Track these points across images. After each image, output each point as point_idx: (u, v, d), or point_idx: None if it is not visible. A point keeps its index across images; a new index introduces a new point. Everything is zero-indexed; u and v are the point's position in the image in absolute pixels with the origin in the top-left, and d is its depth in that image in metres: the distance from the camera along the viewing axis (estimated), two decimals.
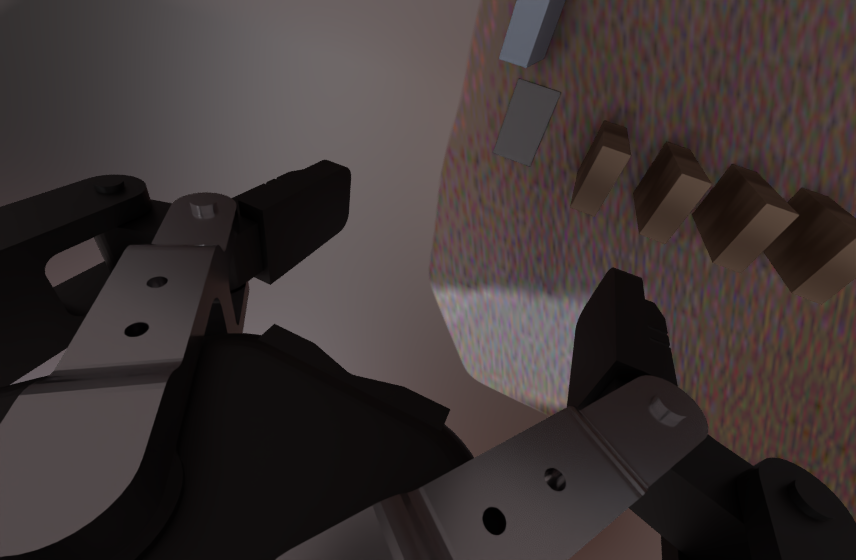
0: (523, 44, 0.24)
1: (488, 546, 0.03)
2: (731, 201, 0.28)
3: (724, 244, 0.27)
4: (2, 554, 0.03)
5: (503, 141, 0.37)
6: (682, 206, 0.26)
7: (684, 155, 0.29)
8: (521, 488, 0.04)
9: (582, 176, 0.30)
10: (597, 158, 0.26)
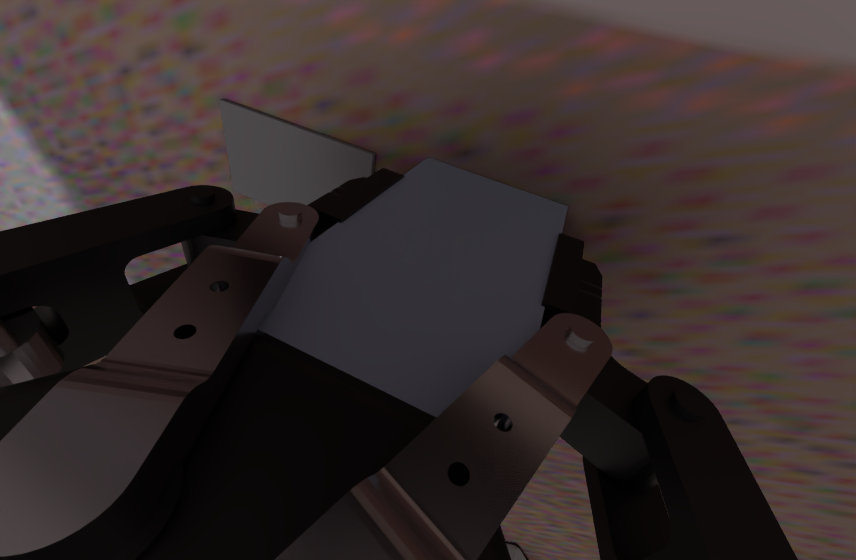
0: None
1: (458, 497, 0.04)
2: None
3: None
4: None
5: (249, 126, 0.15)
6: None
7: None
8: (476, 438, 0.04)
9: None
10: None
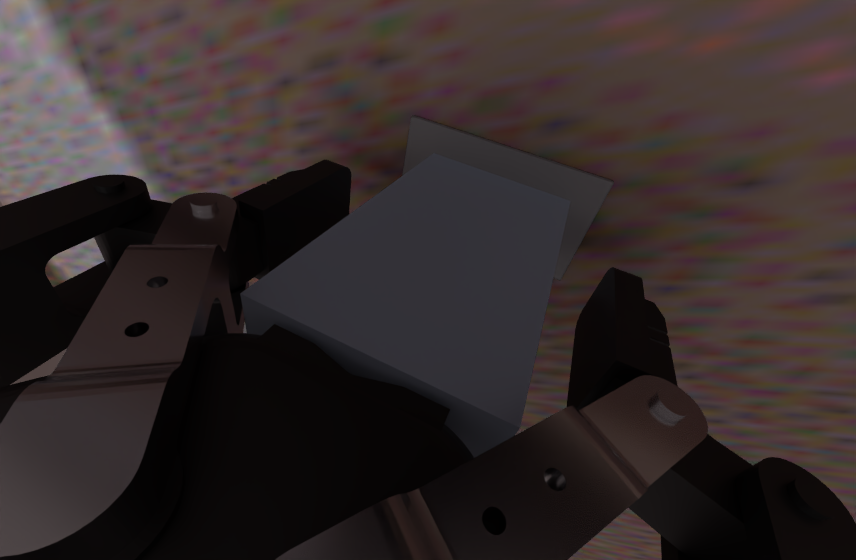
0: None
1: (488, 546, 0.03)
2: None
3: None
4: (2, 553, 0.03)
5: (444, 146, 0.13)
6: None
7: None
8: (521, 488, 0.04)
9: None
10: None
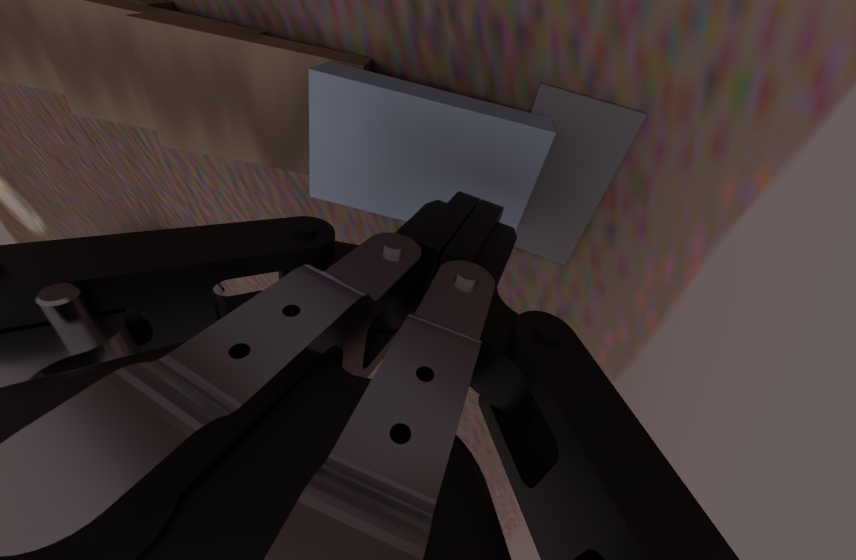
0: None
1: (406, 453, 0.04)
2: None
3: None
4: None
5: (610, 147, 0.14)
6: None
7: None
8: (406, 396, 0.05)
9: (210, 80, 0.15)
10: (156, 125, 0.16)
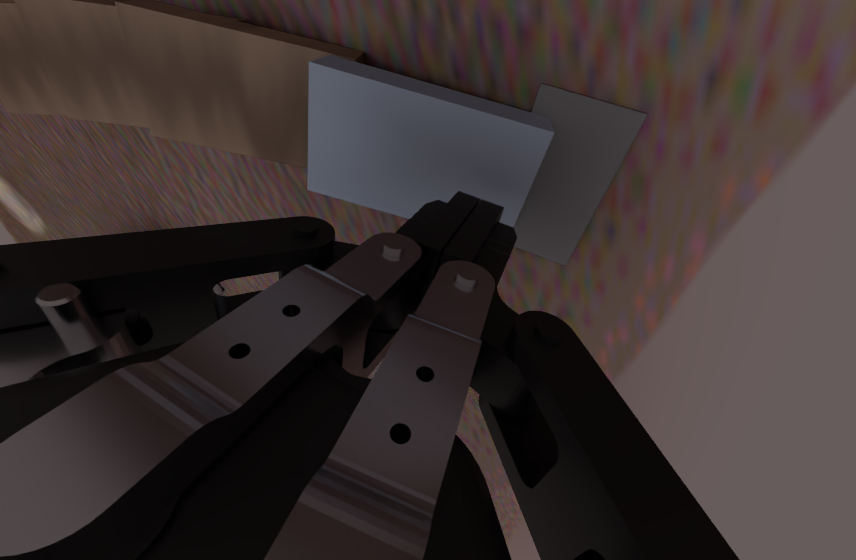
0: None
1: (406, 453, 0.04)
2: None
3: None
4: None
5: (610, 147, 0.14)
6: None
7: None
8: (406, 396, 0.05)
9: (201, 69, 0.15)
10: (147, 114, 0.16)
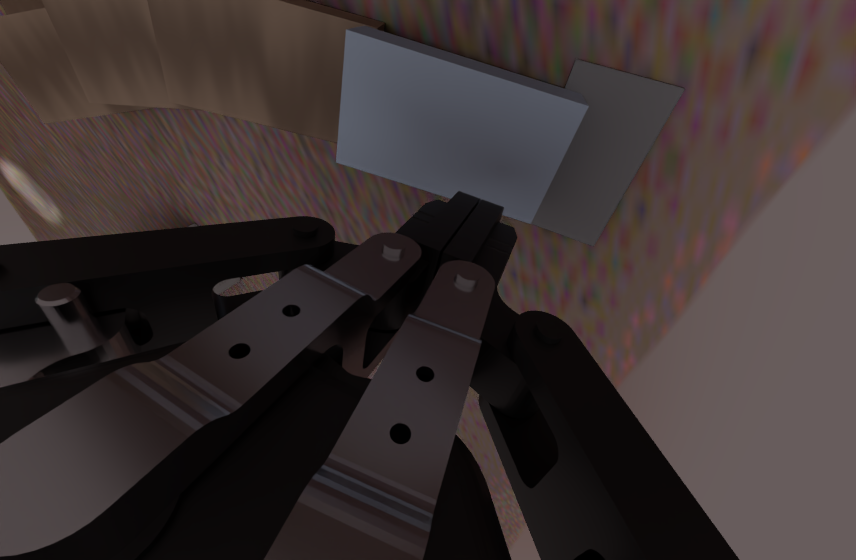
0: None
1: (406, 453, 0.04)
2: None
3: (2, 51, 0.20)
4: None
5: (645, 123, 0.14)
6: None
7: None
8: (406, 396, 0.05)
9: (223, 34, 0.15)
10: (166, 79, 0.16)
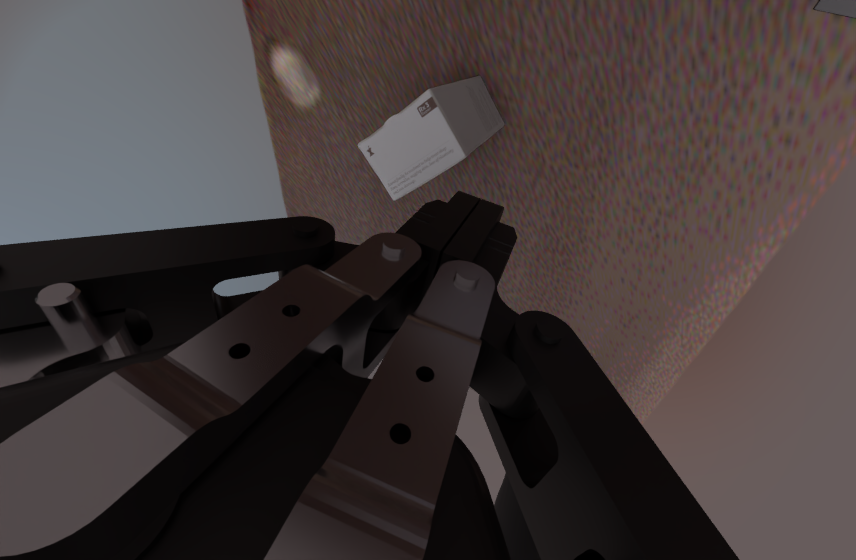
0: None
1: (406, 453, 0.04)
2: None
3: None
4: None
5: None
6: None
7: None
8: (406, 396, 0.05)
9: None
10: None
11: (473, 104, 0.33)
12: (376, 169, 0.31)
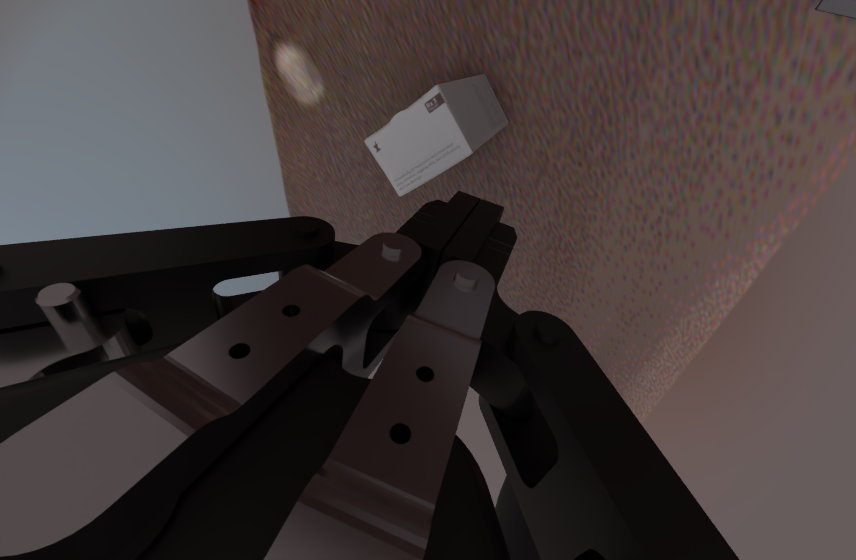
0: None
1: (406, 453, 0.04)
2: None
3: None
4: None
5: None
6: None
7: None
8: (406, 396, 0.05)
9: None
10: None
11: (479, 101, 0.33)
12: (382, 165, 0.31)
